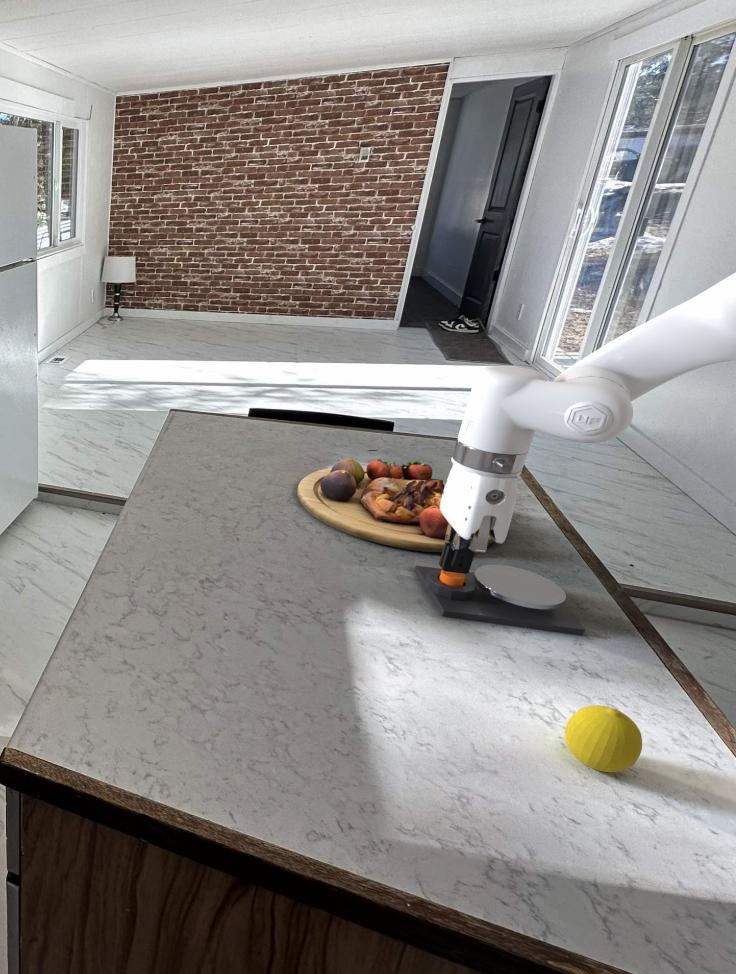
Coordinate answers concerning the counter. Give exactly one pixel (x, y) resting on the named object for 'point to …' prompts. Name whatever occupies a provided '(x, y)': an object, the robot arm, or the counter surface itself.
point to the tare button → (452, 578)
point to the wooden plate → (379, 503)
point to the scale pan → (519, 587)
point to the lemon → (603, 738)
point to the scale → (491, 606)
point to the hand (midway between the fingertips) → (453, 569)
